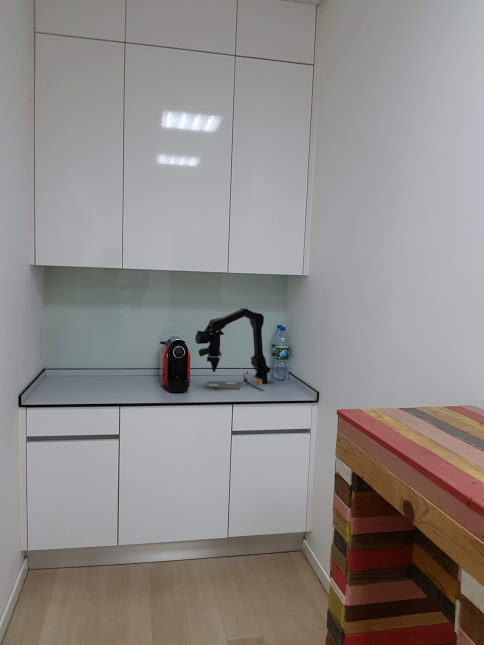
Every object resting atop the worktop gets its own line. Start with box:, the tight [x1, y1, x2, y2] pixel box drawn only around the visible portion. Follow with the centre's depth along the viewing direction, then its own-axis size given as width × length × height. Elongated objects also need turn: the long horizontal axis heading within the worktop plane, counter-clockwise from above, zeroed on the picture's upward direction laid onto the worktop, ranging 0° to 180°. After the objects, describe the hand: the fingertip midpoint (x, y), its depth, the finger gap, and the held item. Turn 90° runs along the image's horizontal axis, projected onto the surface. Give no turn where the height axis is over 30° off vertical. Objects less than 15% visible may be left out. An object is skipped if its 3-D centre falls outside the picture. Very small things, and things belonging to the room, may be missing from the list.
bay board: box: [204, 380, 241, 390], centre depth 272 cm, size 18×14×1 cm
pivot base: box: [240, 381, 251, 385], centre depth 279 cm, size 5×5×1 cm
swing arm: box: [242, 370, 263, 386], centre depth 272 cm, size 19×2×6 cm, turn 26°
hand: (213, 371), depth 268 cm, fingers closed
